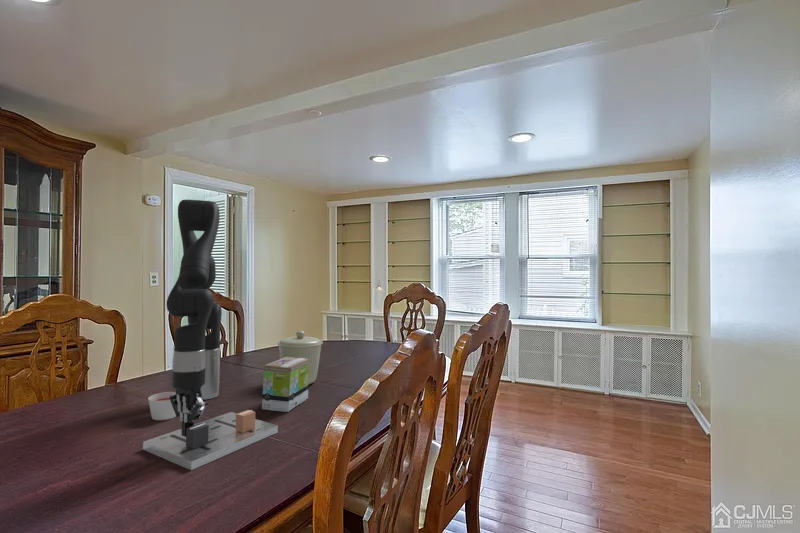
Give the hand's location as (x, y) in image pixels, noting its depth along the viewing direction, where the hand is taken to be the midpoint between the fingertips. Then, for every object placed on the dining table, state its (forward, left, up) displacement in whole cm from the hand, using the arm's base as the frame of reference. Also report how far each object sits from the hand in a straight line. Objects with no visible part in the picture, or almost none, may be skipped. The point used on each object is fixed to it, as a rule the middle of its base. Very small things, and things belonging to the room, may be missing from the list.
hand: (187, 435), depth 104 cm
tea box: (-5, +39, -4) cm, 40 cm away
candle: (-27, +10, -4) cm, 29 cm away
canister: (-20, +61, -4) cm, 65 cm away
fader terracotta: (+6, +13, -2) cm, 14 cm away
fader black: (+4, 0, -2) cm, 4 cm away
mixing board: (+1, +7, -4) cm, 8 cm away
